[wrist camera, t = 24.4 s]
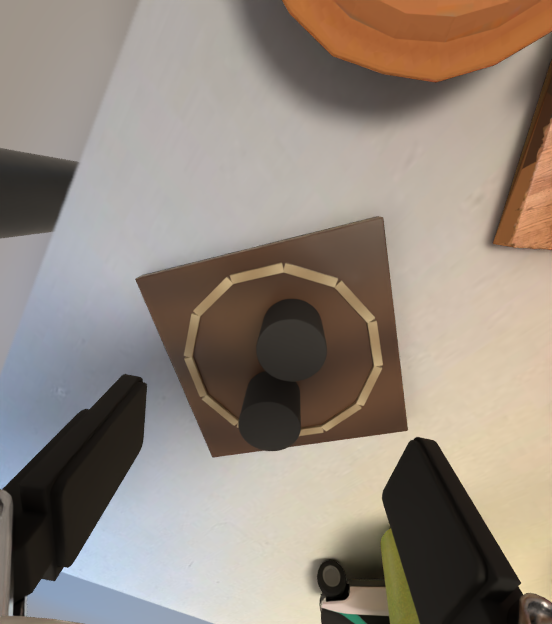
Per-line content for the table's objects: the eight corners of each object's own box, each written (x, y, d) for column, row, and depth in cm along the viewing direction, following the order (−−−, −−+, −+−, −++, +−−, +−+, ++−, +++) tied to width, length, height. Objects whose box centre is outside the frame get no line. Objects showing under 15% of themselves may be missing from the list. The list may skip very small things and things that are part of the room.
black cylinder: (255, 305, 19) (247, 327, 16) (315, 292, 18) (319, 312, 15) (271, 357, 20) (266, 387, 17) (327, 346, 20) (333, 375, 16)
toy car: (431, 593, 31) (457, 670, 26) (319, 591, 32) (323, 663, 27) (437, 560, 28) (467, 636, 24) (316, 558, 30) (320, 630, 25)
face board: (142, 275, 20) (132, 279, 19) (378, 215, 17) (384, 216, 16) (215, 448, 25) (211, 459, 24) (403, 421, 23) (409, 433, 22)
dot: (277, 360, 20) (274, 391, 17) (311, 398, 21) (313, 433, 18) (235, 387, 21) (225, 421, 18) (269, 422, 22) (264, 460, 19)
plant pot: (382, 497, 26) (422, 633, 18) (483, 520, 26) (568, 665, 18) (349, 558, 29) (369, 695, 21) (438, 578, 29) (492, 721, 21)
